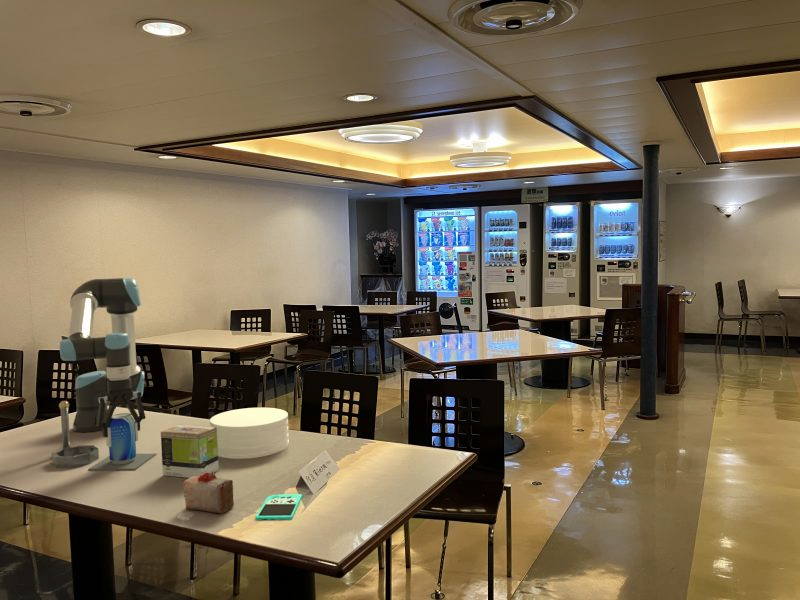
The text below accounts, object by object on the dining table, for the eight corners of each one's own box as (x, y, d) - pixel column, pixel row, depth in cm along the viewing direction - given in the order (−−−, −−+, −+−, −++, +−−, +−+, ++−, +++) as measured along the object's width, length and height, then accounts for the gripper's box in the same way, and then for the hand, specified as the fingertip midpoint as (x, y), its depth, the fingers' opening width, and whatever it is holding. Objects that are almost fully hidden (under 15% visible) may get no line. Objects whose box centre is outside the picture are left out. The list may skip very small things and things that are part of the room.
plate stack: (194, 454, 220) (193, 423, 219) (242, 433, 246) (241, 405, 245) (260, 462, 209) (258, 429, 209) (303, 439, 235) (302, 410, 235)
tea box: (219, 470, 202) (217, 425, 202) (200, 480, 193) (198, 434, 192) (182, 465, 207) (180, 422, 206) (161, 475, 198) (159, 430, 197)
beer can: (141, 457, 216) (138, 412, 215) (128, 465, 208) (125, 418, 207) (118, 456, 217) (116, 412, 216) (104, 464, 208) (102, 418, 207)
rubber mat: (112, 455, 221) (112, 453, 221) (156, 454, 220) (156, 453, 220) (88, 470, 205) (88, 469, 205) (135, 470, 204) (135, 468, 204)
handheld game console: (303, 497, 178) (303, 493, 178) (292, 521, 162) (292, 516, 162) (268, 498, 178) (268, 493, 178) (255, 521, 162) (254, 516, 162)
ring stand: (63, 451, 227) (60, 398, 226) (111, 450, 226) (108, 398, 225) (31, 467, 209) (28, 411, 208) (84, 467, 208) (80, 410, 207)
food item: (179, 510, 170) (177, 475, 169) (198, 499, 177) (197, 466, 177) (220, 516, 165) (219, 480, 164) (238, 505, 172) (236, 471, 172)
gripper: (89, 384, 201) (93, 452, 202) (154, 375, 215) (157, 438, 216) (82, 381, 206) (86, 447, 207) (146, 372, 220) (149, 434, 222)
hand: (122, 443), depth 212 cm, fingers closed on beer can, 8 cm apart
